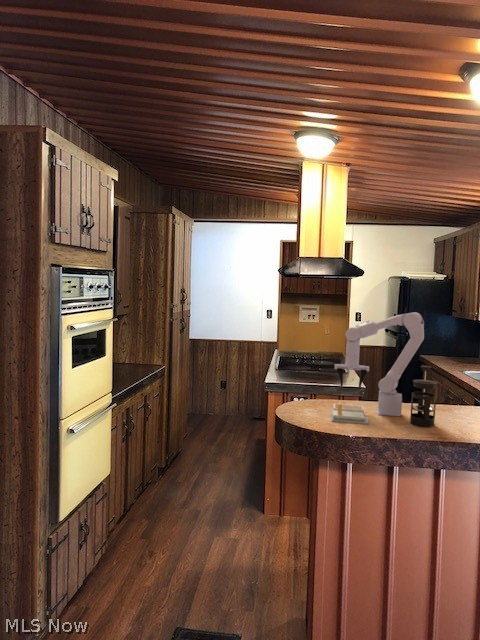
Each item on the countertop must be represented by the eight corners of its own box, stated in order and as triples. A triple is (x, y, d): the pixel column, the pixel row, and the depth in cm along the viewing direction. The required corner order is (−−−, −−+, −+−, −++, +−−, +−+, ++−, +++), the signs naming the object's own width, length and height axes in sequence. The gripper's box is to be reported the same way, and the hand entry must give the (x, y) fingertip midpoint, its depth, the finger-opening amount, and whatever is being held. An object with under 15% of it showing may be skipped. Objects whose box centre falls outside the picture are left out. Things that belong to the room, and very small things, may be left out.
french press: (406, 419, 216) (410, 363, 214) (430, 421, 215) (434, 364, 213) (413, 427, 204) (417, 368, 202) (438, 429, 203) (443, 369, 201)
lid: (362, 416, 216) (363, 402, 215) (364, 421, 208) (365, 407, 207) (332, 414, 217) (333, 400, 217) (333, 419, 210) (333, 405, 209)
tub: (362, 411, 226) (362, 405, 226) (363, 416, 219) (363, 410, 218) (333, 409, 228) (333, 403, 228) (333, 414, 220) (334, 408, 220)
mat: (366, 417, 216) (366, 416, 216) (368, 424, 207) (368, 422, 207) (331, 415, 219) (331, 413, 218) (331, 421, 209) (331, 419, 209)
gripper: (335, 355, 228) (333, 387, 229) (370, 357, 225) (368, 389, 226) (335, 353, 234) (333, 384, 235) (369, 355, 232) (367, 386, 233)
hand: (350, 386), depth 231 cm, fingers open, 7 cm apart
